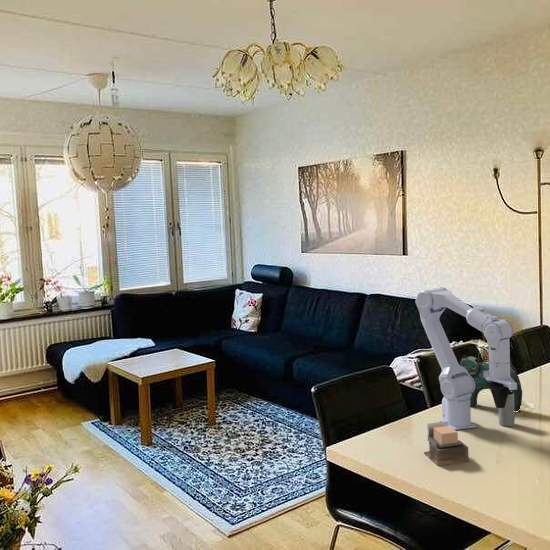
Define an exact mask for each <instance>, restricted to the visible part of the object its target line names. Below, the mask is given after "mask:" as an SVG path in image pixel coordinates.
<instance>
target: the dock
mask: <svg viewBox="0 0 550 550" xmlns="http://www.w3.org/2000/svg"><path fill="white" fill-rule="evenodd" d="M458 441H459V442H460V443H461V447H454V448H446V449H438V448H437V447H435V446H434V445H433V444H429V443H428V445H429V448H428V449H429V450H428V451H423V454H424V455H425V457H427V458H428V459H429V460H430V461H432V463H434V464H435V465H436V466H438V467H439V466H445V465H446V466H447V465H452V464H462V463H468V462H469V461H470V458H469V446H468V445H466V444H465V443H463V442H462V441H461V440H459V439H458Z"/></svg>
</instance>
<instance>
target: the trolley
mask: <svg viewBox="0 0 550 550" xmlns="http://www.w3.org/2000/svg"><path fill="white" fill-rule="evenodd" d="M426 428H427V429H426V430H427V432H426V433H427V442H428V445H429V444H433V445H434V446H435V447H437V448H438V449H446V448H454V447H461V443H460V442H459V441H458V440H459V437H458V431H457V430H454V429H453V428H451V427H450V426H449V424H448V421H445V422H441V421H436V422H431V423H426Z"/></svg>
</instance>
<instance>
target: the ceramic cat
mask: <svg viewBox="0 0 550 550" xmlns="http://www.w3.org/2000/svg"><path fill="white" fill-rule="evenodd" d="M481 352H485V353H487V354H488V355H489V350H486V349H481V350H479V351H478V354H477V355H478V358H477V357H475V356H467V355H466V354H462V356H461V360H460V362H458V364H459V365H460V366H462V367H464V368H465V369H467V372H468V373H469V375H470V376H471V377H472V378H473V380H474V382H475V390H474V391H473V392H472V393H471V397H470V406H472V407H471V408H474V407H473V406H475V407H476V406H477V405H478V397H479V396H478V395H479V394H480V392H481V391H483V390H490V389H489V387H488V385H487V383H491V382H492V381H488V380H486V378H485V377H484V371H488V370H489V362H484V361H482V360H481V358H480V353H481ZM510 377H511V378H512V379H513V380H514V381H515V382H516V383H517V389H516V390H511V391H512V392H514V411H518V410H519V409H520V406H521V407H522V403H523V402H522V401H523V389H522V383H521V380H520V377H519V375H518V372H517V370H516V368H515V366H513V364H512V363H510ZM476 404H477V405H476Z"/></svg>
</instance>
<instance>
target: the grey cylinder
mask: <svg viewBox="0 0 550 550" xmlns="http://www.w3.org/2000/svg"><path fill="white" fill-rule="evenodd" d="M515 420H516V419H515V412H514V392H512V391H510V392H509V394H508V397H507V400H506V404H505V408H498V424H499V425H500V426H502V427H505V428H511V427H514V426H515Z"/></svg>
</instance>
